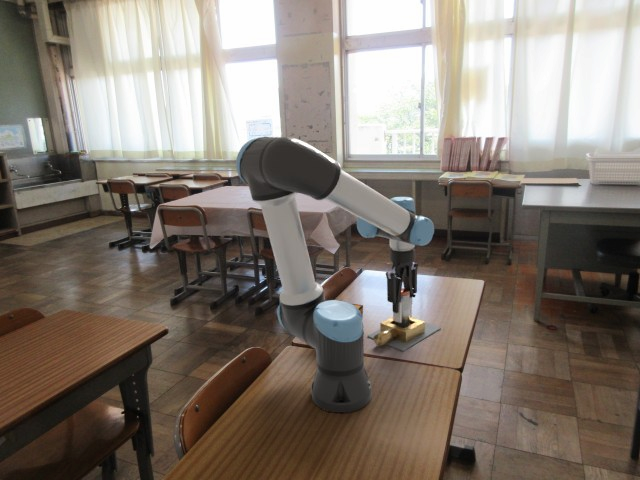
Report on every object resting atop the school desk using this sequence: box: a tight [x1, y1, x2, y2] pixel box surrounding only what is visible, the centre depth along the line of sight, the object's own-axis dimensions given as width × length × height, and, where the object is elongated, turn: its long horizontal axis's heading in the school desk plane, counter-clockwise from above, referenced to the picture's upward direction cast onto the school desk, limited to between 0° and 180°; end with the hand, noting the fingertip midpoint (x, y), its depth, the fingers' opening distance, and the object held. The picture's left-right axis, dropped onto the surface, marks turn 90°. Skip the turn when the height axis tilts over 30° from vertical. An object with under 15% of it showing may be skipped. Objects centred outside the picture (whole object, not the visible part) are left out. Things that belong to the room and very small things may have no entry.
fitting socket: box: [373, 316, 426, 347], centre depth 139 cm, size 17×10×4 cm, turn 133°
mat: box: [367, 322, 442, 352], centre depth 143 cm, size 20×14×1 cm
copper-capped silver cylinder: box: [395, 287, 410, 328], centre depth 140 cm, size 5×5×12 cm
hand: (402, 318), depth 141 cm, fingers closed on copper-capped silver cylinder, 5 cm apart
